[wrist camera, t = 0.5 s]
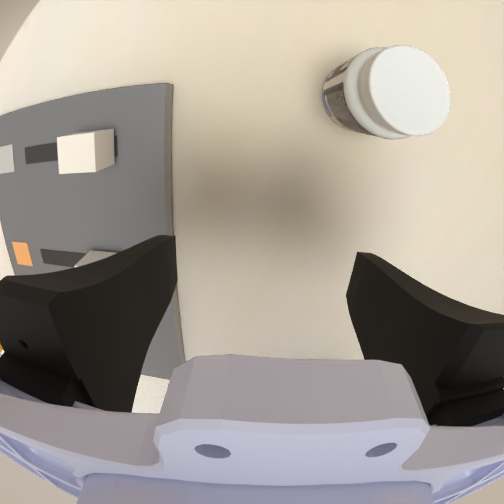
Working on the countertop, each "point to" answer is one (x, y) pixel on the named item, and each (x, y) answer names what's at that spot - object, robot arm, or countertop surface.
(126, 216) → the switch board
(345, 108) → the pill bottle
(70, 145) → the block
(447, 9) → the countertop surface
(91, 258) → the middle tab
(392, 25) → the countertop surface
